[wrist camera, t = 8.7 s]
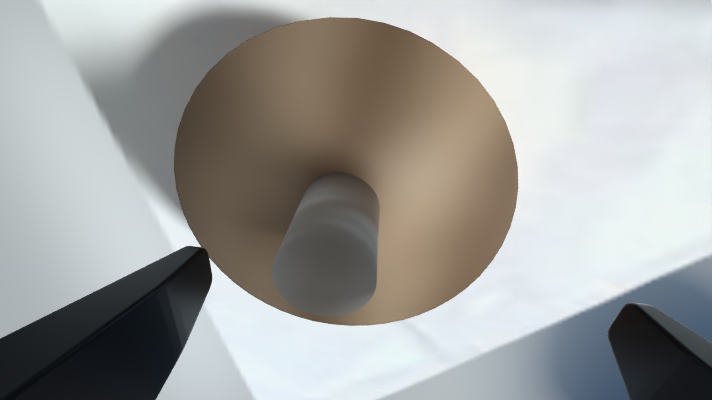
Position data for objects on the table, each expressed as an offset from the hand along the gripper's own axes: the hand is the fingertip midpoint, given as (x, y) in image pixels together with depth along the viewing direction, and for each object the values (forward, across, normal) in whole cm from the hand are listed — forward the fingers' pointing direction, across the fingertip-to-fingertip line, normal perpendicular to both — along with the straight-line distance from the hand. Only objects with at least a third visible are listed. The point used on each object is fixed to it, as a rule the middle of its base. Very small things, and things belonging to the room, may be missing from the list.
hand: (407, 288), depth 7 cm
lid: (+6, +2, +2) cm, 7 cm away
